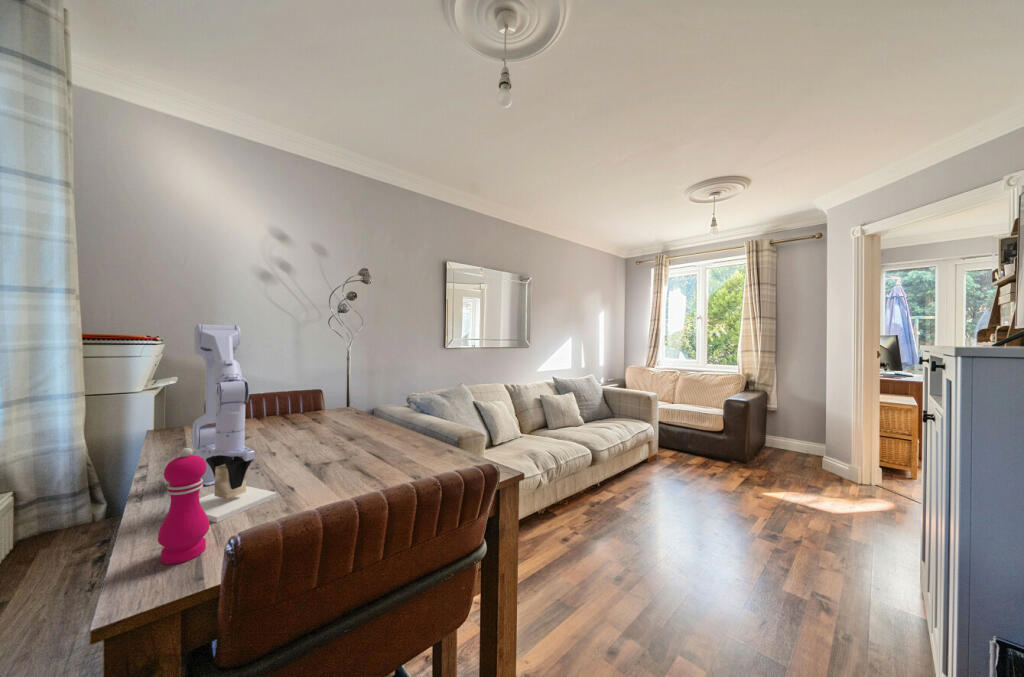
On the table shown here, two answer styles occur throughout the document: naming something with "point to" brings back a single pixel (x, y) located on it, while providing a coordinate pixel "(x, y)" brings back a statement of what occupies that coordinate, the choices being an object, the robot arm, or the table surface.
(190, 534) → the pepper mill
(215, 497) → the white board
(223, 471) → the birch block
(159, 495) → the table surface
